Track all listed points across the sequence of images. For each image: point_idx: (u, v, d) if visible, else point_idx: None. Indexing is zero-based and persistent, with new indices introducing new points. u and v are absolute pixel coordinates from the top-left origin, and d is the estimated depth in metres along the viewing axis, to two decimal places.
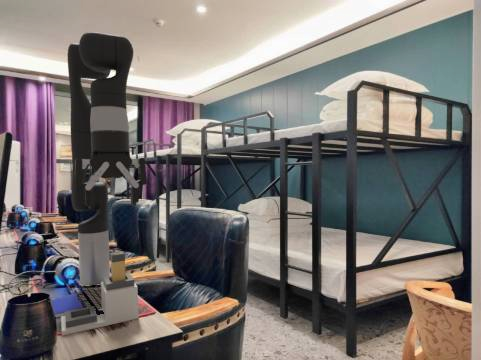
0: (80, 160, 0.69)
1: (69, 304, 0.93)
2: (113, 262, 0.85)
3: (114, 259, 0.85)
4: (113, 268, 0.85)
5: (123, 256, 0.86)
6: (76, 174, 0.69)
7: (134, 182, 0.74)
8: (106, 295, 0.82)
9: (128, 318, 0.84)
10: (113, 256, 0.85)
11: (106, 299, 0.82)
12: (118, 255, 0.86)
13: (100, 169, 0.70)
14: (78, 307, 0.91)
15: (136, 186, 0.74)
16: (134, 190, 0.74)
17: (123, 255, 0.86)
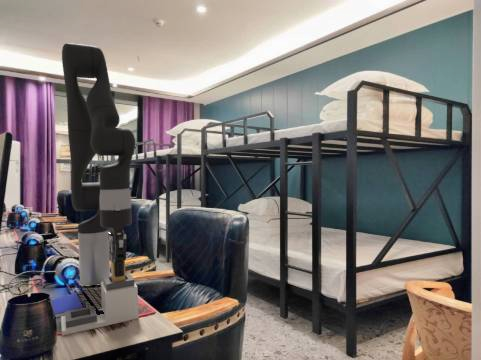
0: None
1: (69, 303, 0.94)
2: (113, 262, 0.85)
3: None
4: (113, 268, 0.85)
5: None
6: None
7: None
8: (106, 295, 0.82)
9: (128, 318, 0.84)
10: None
11: (106, 299, 0.82)
12: (118, 255, 0.86)
13: None
14: (78, 307, 0.91)
15: None
16: None
17: None
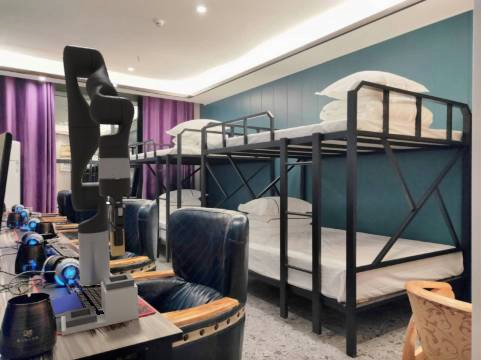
0: None
1: (69, 303, 0.94)
2: (112, 231, 0.85)
3: None
4: (112, 237, 0.85)
5: None
6: None
7: None
8: (106, 295, 0.82)
9: (128, 318, 0.84)
10: (112, 225, 0.85)
11: (106, 299, 0.82)
12: None
13: None
14: (78, 307, 0.91)
15: None
16: None
17: None
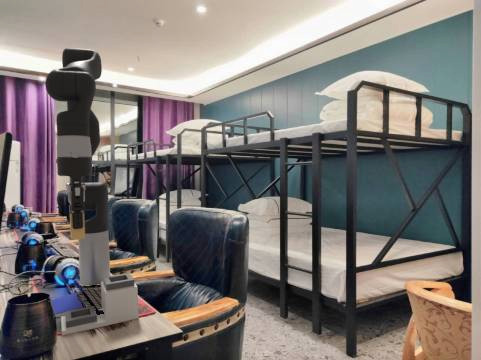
0: None
1: (69, 303, 0.94)
2: (71, 213, 0.81)
3: None
4: (71, 220, 0.81)
5: None
6: (83, 200, 0.78)
7: None
8: (106, 295, 0.82)
9: (128, 318, 0.84)
10: None
11: (106, 299, 0.82)
12: None
13: (84, 191, 0.82)
14: (78, 307, 0.91)
15: None
16: None
17: None
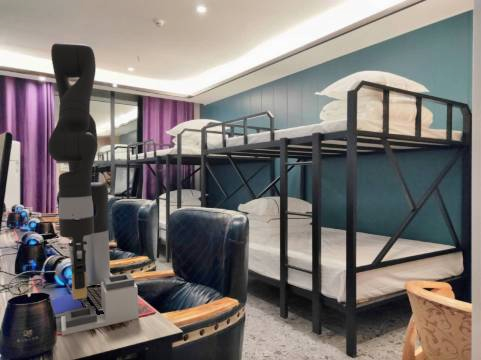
0: (85, 250, 0.78)
1: (69, 303, 0.94)
2: (73, 273, 0.81)
3: None
4: (73, 280, 0.81)
5: None
6: (85, 262, 0.79)
7: None
8: (106, 295, 0.82)
9: (128, 318, 0.84)
10: None
11: (106, 299, 0.82)
12: (78, 266, 0.82)
13: (86, 251, 0.82)
14: (79, 307, 0.91)
15: None
16: None
17: None
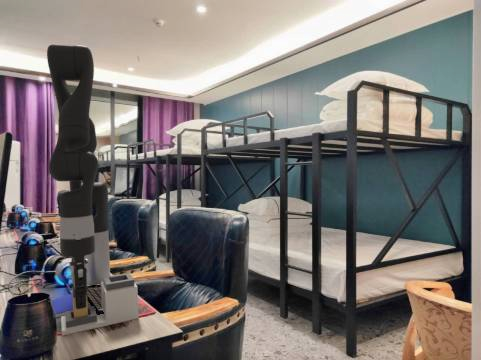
0: None
1: (69, 303, 0.94)
2: (74, 297, 0.81)
3: None
4: (74, 303, 0.81)
5: None
6: (86, 281, 0.78)
7: None
8: (106, 295, 0.82)
9: (128, 318, 0.84)
10: None
11: (106, 299, 0.82)
12: None
13: None
14: None
15: None
16: None
17: None
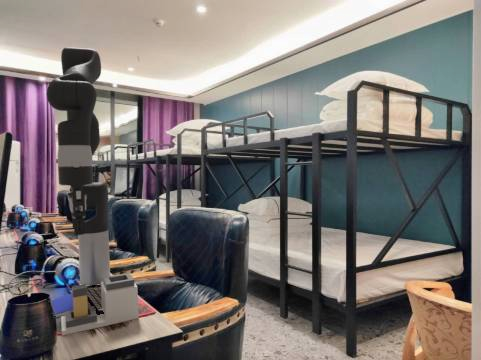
0: None
1: (69, 303, 0.94)
2: (74, 297, 0.81)
3: (76, 294, 0.81)
4: (74, 303, 0.81)
5: (85, 290, 0.82)
6: (84, 204, 0.78)
7: None
8: (106, 295, 0.82)
9: (128, 318, 0.84)
10: (74, 291, 0.81)
11: (106, 299, 0.82)
12: (80, 289, 0.82)
13: (85, 199, 0.82)
14: None
15: None
16: None
17: (85, 289, 0.82)
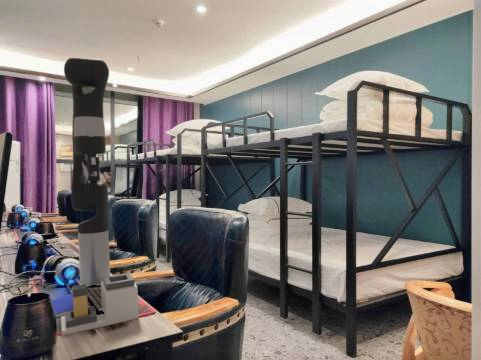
0: None
1: (69, 303, 0.94)
2: (74, 297, 0.81)
3: (76, 294, 0.81)
4: (74, 303, 0.81)
5: (85, 290, 0.82)
6: (99, 170, 0.85)
7: None
8: (106, 295, 0.82)
9: (128, 318, 0.84)
10: (74, 291, 0.81)
11: (106, 299, 0.82)
12: (80, 289, 0.82)
13: (99, 166, 0.89)
14: None
15: None
16: None
17: (85, 289, 0.82)
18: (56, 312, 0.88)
